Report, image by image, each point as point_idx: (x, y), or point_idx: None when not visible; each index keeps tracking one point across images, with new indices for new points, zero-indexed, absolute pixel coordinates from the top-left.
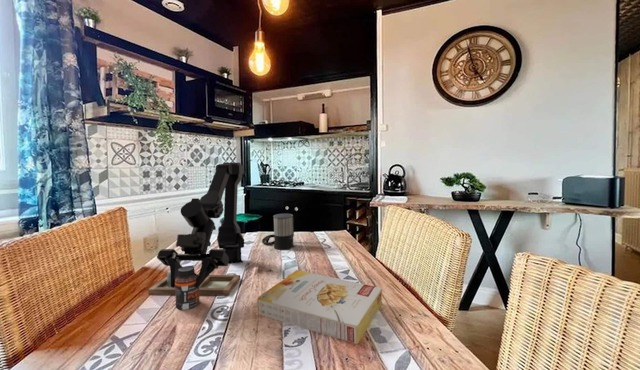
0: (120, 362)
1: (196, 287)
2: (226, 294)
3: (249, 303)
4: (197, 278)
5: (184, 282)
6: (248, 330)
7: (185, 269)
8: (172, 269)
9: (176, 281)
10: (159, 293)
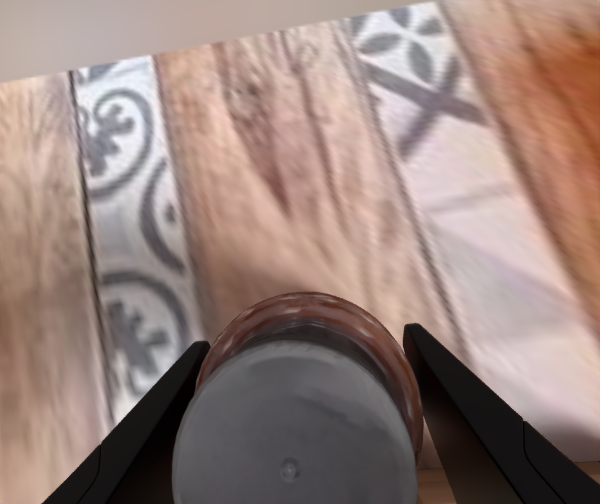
0: (332, 27)
1: (208, 349)
2: None
3: (39, 431)
4: (175, 394)
5: (265, 301)
6: (10, 223)
7: (272, 414)
8: (560, 487)
9: (352, 304)
10: (598, 479)
